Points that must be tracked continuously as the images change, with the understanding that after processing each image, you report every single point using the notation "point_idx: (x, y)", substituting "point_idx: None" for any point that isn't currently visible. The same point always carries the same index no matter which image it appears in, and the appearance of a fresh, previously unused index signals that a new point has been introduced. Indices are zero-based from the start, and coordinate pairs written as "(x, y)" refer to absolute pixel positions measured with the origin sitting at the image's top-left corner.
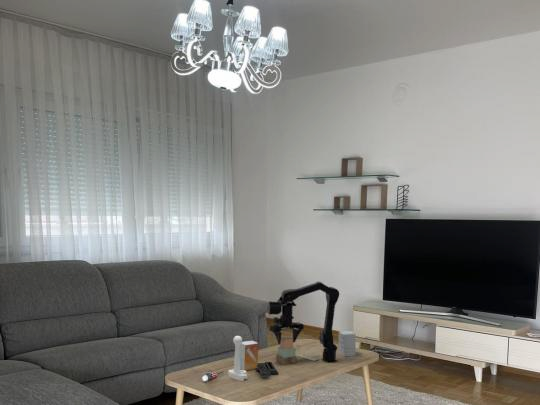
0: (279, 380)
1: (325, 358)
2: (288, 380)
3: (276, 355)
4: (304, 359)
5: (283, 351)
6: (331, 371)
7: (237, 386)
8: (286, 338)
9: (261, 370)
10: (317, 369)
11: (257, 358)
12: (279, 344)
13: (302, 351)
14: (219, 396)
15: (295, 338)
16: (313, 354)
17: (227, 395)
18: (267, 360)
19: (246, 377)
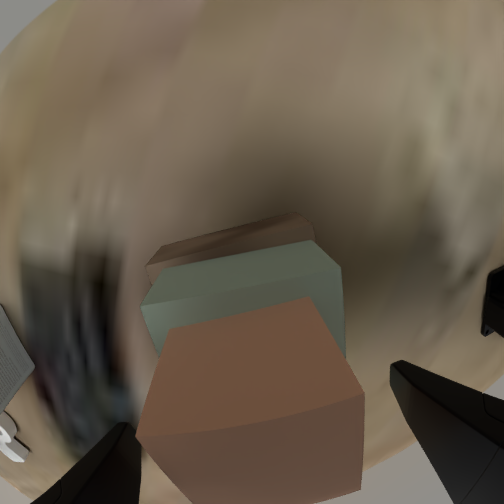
0: (144, 493)
1: (492, 328)
2: (180, 500)
3: (150, 271)
4: (416, 243)
5: None
6: (409, 440)
7: (23, 470)
8: (265, 478)
9: (59, 397)
10: (374, 426)
11: (7, 404)
12: (134, 440)
13: (457, 50)
14: (11, 483)
15: (427, 442)
16: (497, 145)
17: (23, 489)
18: (96, 211)
19: (25, 456)
